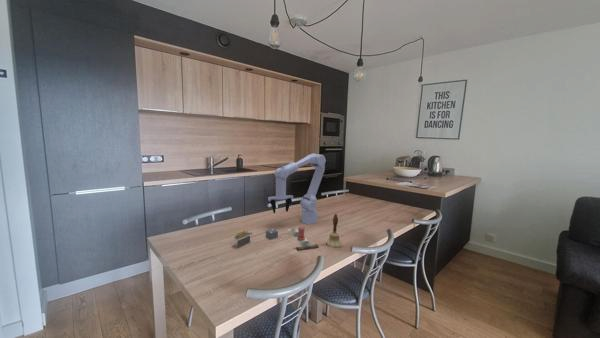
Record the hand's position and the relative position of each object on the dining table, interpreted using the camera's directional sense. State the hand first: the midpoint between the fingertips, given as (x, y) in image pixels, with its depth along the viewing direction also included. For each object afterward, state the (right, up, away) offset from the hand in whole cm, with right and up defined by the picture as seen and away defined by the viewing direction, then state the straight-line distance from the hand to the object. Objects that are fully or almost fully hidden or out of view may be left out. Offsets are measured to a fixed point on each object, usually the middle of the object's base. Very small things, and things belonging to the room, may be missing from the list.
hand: (280, 211), depth 142 cm
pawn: (+12, -12, -14) cm, 22 cm away
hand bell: (+29, -14, -16) cm, 36 cm away
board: (+11, -13, -11) cm, 20 cm away
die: (-4, -12, -12) cm, 18 cm away
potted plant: (-18, -14, -19) cm, 29 cm away
